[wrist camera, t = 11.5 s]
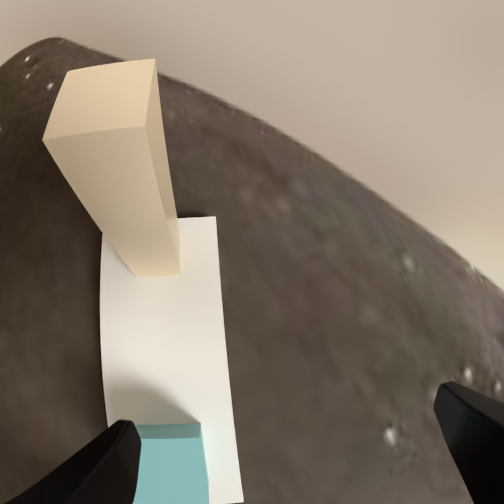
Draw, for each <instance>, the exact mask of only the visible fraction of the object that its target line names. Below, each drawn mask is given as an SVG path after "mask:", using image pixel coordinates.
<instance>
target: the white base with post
mask: <svg viewBox="0 0 504 504" xmlns="http://www.w3.org/2000/svg"><path fill="white" fill-rule="evenodd" d="M42 140H43V142H44V144H45V146H46V147H47V149H48V151H49V152H50V154H51V156H52V157H53V159H54V161H55V162H56V164H57V165H58V167H59V169H60V170H61V172H62V173H63V175H64V177H65V178H66V180H67V181H68V183H69V184H70V186H71V187H72V189H73V190H74V192H75V194H76V195H77V197H78V198H79V200H80V201H81V203H82V204H83V205H84V207H85V208H86V210H87V211H88V213H89V214H90V216H91V217H92V219H93V220H94V221H95V223H96V224H97V226H98V227H99V229H100V230H101V231H102V233H103V235H102V251H101V274H100V336H101V358H102V374H103V386H104V397H105V406H106V415H107V423H108V427H110V426H111V425H112V424H113V423H115V422H116V421H117V420H119V419H126V420H132V421H133V422H134V424H135V426H136V425H168V424H196V423H201V428H202V436H203V444H204V451H205V458H206V465H207V472H208V479H209V504H227V503H238V502H244V500H243V493H242V486H241V478H240V470H239V463H238V455H237V446H236V438H235V429H234V421H233V412H232V403H231V393H230V384H229V374H228V364H227V354H226V343H225V332H224V321H223V309H222V297H221V284H220V271H219V258H218V243H217V228H216V217H196V218H177V214H176V208H175V203H174V197H173V191H172V184H171V178H170V172H169V165H168V159H167V152H166V145H165V138H164V130H163V123H162V115H161V107H160V98H159V89H158V80H157V70H156V60H155V59H145V60H136V61H127V62H119V63H112V64H105V65H99V66H93V67H87V68H82V69H77V70H72V71H68V72H67V74H66V77H65V79H64V81H63V84H62V86H61V89H60V91H59V94H58V96H57V99H56V102H55V104H54V107H53V110H52V112H51V115H50V118H49V121H48V124H47V127H46V130H45V133H44V136H43V139H42ZM133 504H134V503H133Z"/></svg>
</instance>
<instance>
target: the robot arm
mask: <svg viewBox="0 0 504 504" xmlns="http://www.w3.org/2000/svg"><path fill="white" fill-rule="evenodd" d="M434 411H435V414H436V417H437V419H438V422H439V425H440V427H441V430H442V433H443V436H444V438H445V441H446V444H447V446H448V449H449V451H450V453H451V455H452V457H453V459H454V461H455V463H456V465H457V468H458V470H459V472H460V474H461V476H462V478H463V480H464V482H465V485H466V487H467V489H468V491H469V493H470V496H471V498H472V500H473V502H474V504H504V403H503V402H500V401H498V400H496V399H493V398H491V397H488V396H486V395H484V394H481V393H479V392H477V391H474V390H472V389H470V388H467V387H465V386H463V385H460V384H458V383H456V382H453V381H449V382H446V383H443V384H441V385H440V386H439V388H438V392H437V395H436V399H435V402H434ZM141 447H142V442H141V438H140V436H139V433H138V431H137V429H136V426H135V424H134V422H133V421H132V420H126V419H119V420H117V421H116V422H115V423H113V424H112V425H111V426H110V427H108V428H107V429H106V430H105V431H103V432H102V433H101V434H100V435H98V436H97V437H96V438H95V439H93V440H92V441H91V442H89V443H88V444H87V445H86V446H84V447H83V448H82V449H81V450H79V451H78V452H77V453H75V454H74V455H73V456H71V457H70V458H69V459H68V460H66V461H65V462H64V463H62V464H61V465H60V466H58V467H57V468H56V469H54V470H53V471H52V472H50V473H49V474H48V475H46V476H45V477H44V478H42V479H41V480H40V482H39V481H38V482H37V483H36V484H34V485H33V486H31V487H30V488H29V489H27V490H26V491H24V492H23V493H21V494H20V495H18V496H17V497H15V498H13V499H12V500H10V501H8V502H6V503H5V504H133V502H134V498H135V494H136V489H137V482H138V473H139V464H140V455H141Z"/></svg>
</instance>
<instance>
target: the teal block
mask: <svg viewBox="0 0 504 504" xmlns="http://www.w3.org/2000/svg"><path fill="white" fill-rule="evenodd" d="M136 429H137V431H138V433H139V436H140V438H141V442H142V447H141V455H140V464H139V473H138V482H137V489H136V494H135V498H134V502H133V503H134V504H209V479H208V472H207V465H206V458H205V451H204V444H203V436H202V428H201V423H196V424H168V425H136Z"/></svg>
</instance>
